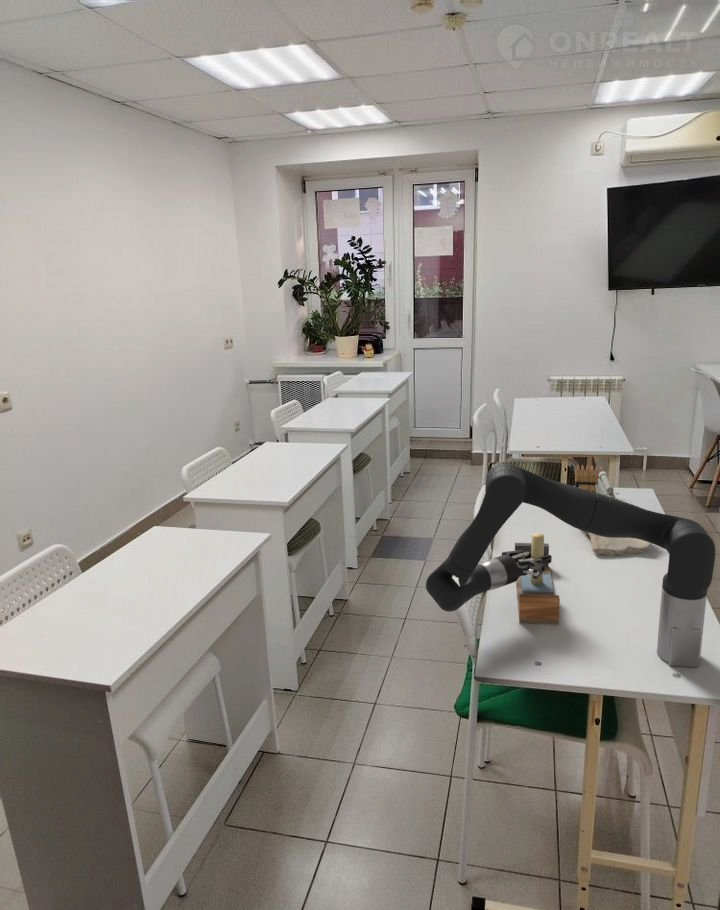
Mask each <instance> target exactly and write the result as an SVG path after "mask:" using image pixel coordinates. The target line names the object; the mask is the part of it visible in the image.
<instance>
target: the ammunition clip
mask: <svg viewBox="0 0 720 910" xmlns="http://www.w3.org/2000/svg"><path fill="white" fill-rule="evenodd" d="M580 467H581V468H580ZM602 471H604V468H603V465H601V466H600V468H599V467H598V465H596V466H595V469H594V465H593V464H592V465H591V466H590V468H589V465H588V464H587V465H586V467H585V466H584V464H581V466H580V465H579V464H577V466H576V469H575V476H574V478H575V479H574V487H578V488H581V489H584V490H588V491H592V492H596V493H597V490H596V484H597V487H598V479H600V478H599V473H600V472H602Z"/></svg>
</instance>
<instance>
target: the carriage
mask: <svg viewBox="0 0 720 910" xmlns="http://www.w3.org/2000/svg"><path fill="white" fill-rule="evenodd" d="M531 543H532V547H531V558H533V559H537V558H540V557H543V556H544V544H545V534H543V533H541V532H535V533H532V534H531ZM535 565H537V563H535ZM553 585H554V584H553V581H552V576H551V573H550V574H543V573H542V574H541V575H540V576H539V577H538V578H537V579H534V578H533V575H530V574H527V575H525V576H521V593H522V594H536V595H555V591H554V586H553Z"/></svg>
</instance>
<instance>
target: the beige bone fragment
mask: <svg viewBox="0 0 720 910" xmlns="http://www.w3.org/2000/svg"><path fill="white" fill-rule="evenodd" d="M586 533H587V534H588V536H589V538H590V541H591V547H592V552H593V553H594V554H597V555H603V556H607V555H610V556H609V557H613V556H612V555H615V556H621V555H638V554H640V553H641V552H645V551H647V550H649V549H650V548H651V543H649V542H647V541H644V540H640V539H636V538H610V537H603V536H599V535H595V534H592V533H589V532H586Z"/></svg>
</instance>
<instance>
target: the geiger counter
mask: <svg viewBox="0 0 720 910" xmlns="http://www.w3.org/2000/svg"><path fill="white" fill-rule="evenodd" d="M598 475H599V478H600V479H598V487H597V484H596V490H597V493H599V494H602V495H605V496H608V497H611V498H614V499H616V495H615V493H614V490H615V489H614V487H613V486H612V482H611V481H610V480H609V475H608V473H607V472H606V471H604V470H603V471H602V472H600V471H599V472H598Z"/></svg>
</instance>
